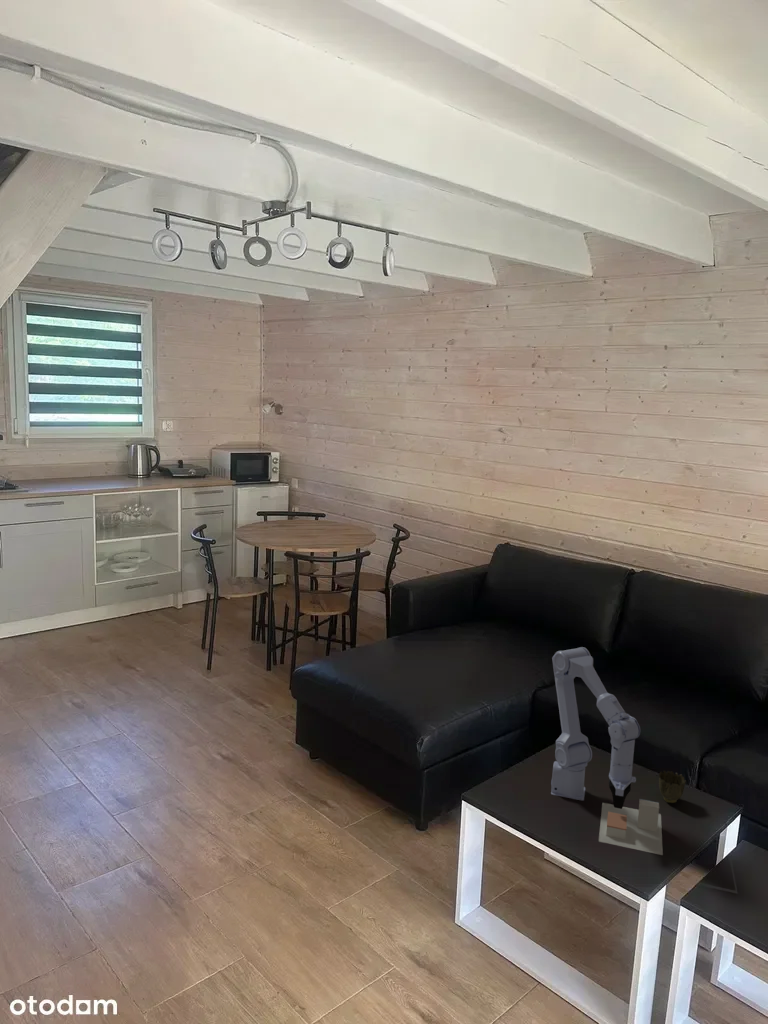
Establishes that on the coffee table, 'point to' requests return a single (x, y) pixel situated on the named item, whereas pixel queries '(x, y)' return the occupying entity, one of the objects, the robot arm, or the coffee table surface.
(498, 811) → the coffee table surface
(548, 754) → the coffee table surface
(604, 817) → the mat
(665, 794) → the cup
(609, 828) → the slab
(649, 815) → the slab
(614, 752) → the robot arm
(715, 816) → the coffee table surface
